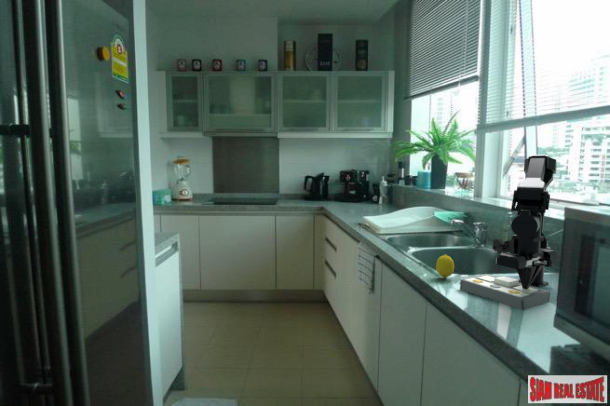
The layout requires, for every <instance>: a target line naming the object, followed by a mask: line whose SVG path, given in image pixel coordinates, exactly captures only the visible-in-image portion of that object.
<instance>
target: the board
mask: <svg viewBox="0 0 610 406" xmlns="http://www.w3.org/2000/svg"><path fill="white" fill-rule="evenodd" d="M482 276H490V277H494V278H498V277H499V276H496V275H492V274H488V273H485V274H480V275H475V276H470V277H466V278H460V280H459V285H460V286H459V289H460V290H462V291H464V292H468V293H471V294H473V295H477V296H479V297H483V298H486V299H488V298H489V299H488V300H491V299H492V300H491V301H495V302H497V303H501V304H503V305H507V306H510V307H513V308H515V309H519V310H522V311H525V310H527V309H528V310H529V309H532V308H535V307H537V306H541V305H544V304H548V303H550V297H551V291H550V290H548V289H543V288H540V287H535V286H532V285H530V287H531V288H534V289H538V291H537V292H534V293H530V294H528V293H525V292H521V291H518V290H515V289H513V287H511V288H508V287H504V286H501V285H497V284H494V282H492V283H490V282H487V281H483V280H480V279H477V277H482ZM521 285H522V284H521V282H519V283H518V286H521ZM515 287H517V286H515Z"/></svg>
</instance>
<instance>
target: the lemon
mask: <svg viewBox="0 0 610 406" xmlns="http://www.w3.org/2000/svg"><path fill="white" fill-rule="evenodd" d="M454 262H455V261H454V260H453V258H451V256H449V255H447V254H446V253H445V254H443V255H441V256H439V257H438V259H437V260H436V265H435V269H436V272H437V273H438V275H439V276H441V277H442V278H443V279H447V278H448V277H450V276H452V275H453V274H454V270H455V263H454Z"/></svg>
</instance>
